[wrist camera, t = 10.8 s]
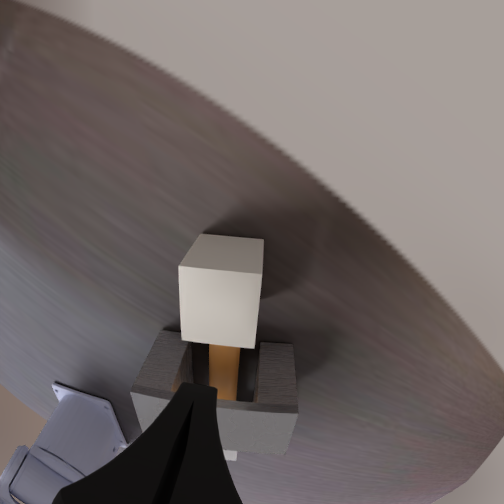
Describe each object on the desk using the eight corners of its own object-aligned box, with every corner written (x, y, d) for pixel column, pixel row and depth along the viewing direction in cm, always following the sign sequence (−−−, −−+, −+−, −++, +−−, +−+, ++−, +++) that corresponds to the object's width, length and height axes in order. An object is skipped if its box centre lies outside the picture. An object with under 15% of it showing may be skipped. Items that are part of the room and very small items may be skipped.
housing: (279, 406, 24) (279, 468, 18) (169, 393, 25) (149, 451, 18) (292, 344, 22) (298, 413, 15) (160, 329, 22) (129, 391, 16)
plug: (243, 428, 26) (239, 470, 21) (203, 423, 26) (194, 464, 21) (263, 239, 19) (262, 274, 14) (200, 233, 19) (178, 265, 14)
